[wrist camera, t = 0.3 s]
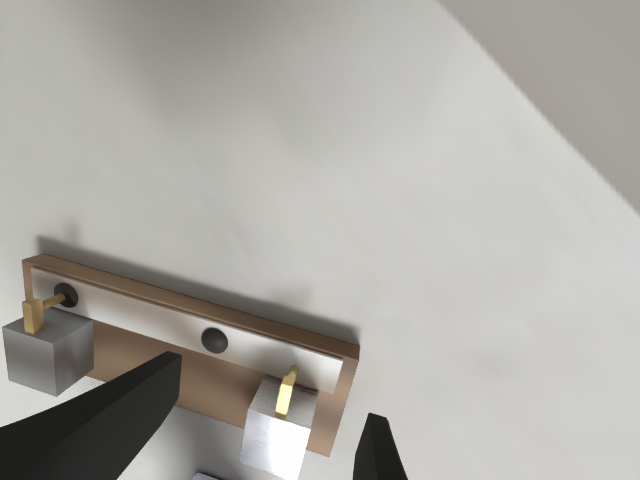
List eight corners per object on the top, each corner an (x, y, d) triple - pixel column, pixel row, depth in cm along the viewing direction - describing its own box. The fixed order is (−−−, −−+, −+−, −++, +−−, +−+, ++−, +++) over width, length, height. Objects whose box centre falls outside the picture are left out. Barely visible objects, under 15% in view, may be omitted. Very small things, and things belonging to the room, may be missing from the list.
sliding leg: (306, 440, 22) (296, 482, 19) (255, 423, 22) (238, 462, 20) (326, 364, 20) (318, 399, 17) (270, 347, 20) (253, 378, 18)
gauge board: (331, 439, 24) (322, 501, 19) (49, 346, 26) (-13, 382, 22) (359, 346, 21) (356, 394, 17) (42, 253, 24) (-30, 274, 19)
